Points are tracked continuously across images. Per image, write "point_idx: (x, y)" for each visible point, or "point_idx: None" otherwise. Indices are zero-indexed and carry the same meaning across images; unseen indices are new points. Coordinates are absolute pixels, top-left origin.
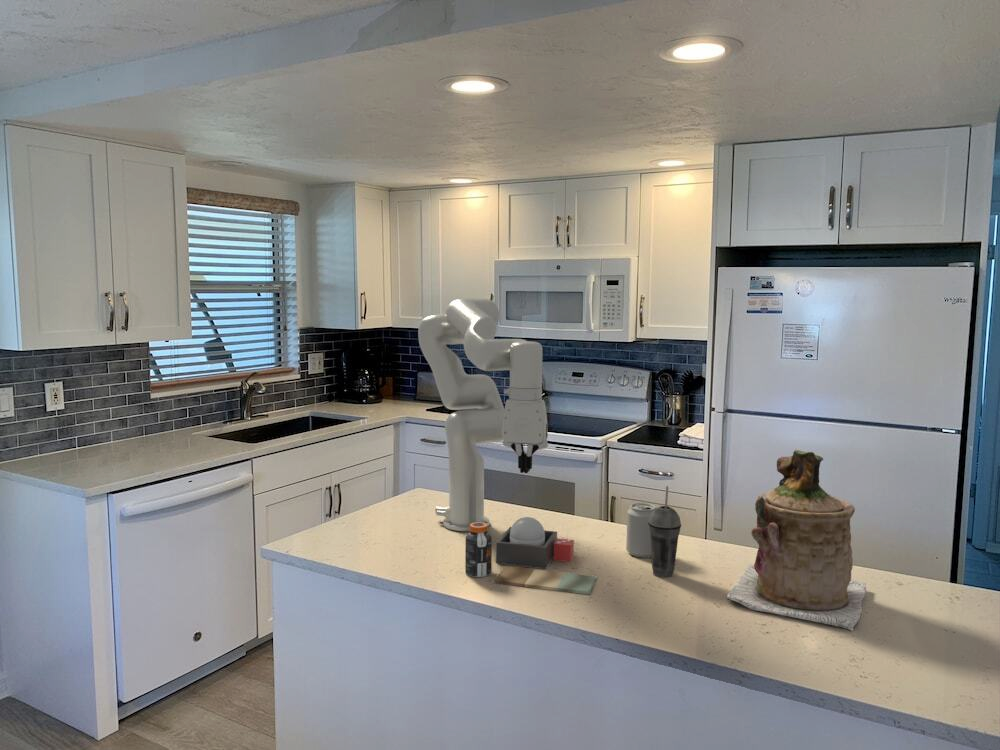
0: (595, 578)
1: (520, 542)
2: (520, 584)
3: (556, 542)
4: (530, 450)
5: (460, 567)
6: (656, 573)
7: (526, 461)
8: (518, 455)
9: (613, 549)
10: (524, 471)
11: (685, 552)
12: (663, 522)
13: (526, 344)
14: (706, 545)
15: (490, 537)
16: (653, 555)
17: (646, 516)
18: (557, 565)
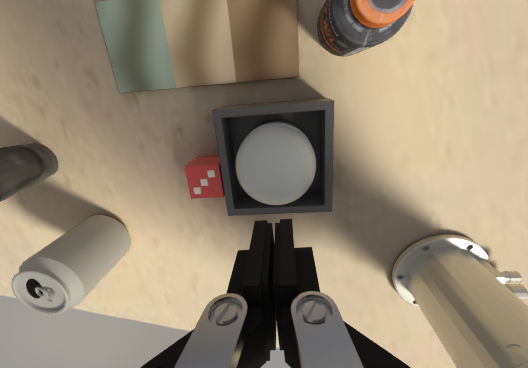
0: (117, 84)
1: (278, 123)
2: None
3: (216, 173)
4: (201, 341)
5: (393, 41)
6: (41, 147)
7: (249, 260)
8: (315, 293)
9: (155, 236)
10: (268, 224)
11: None
12: None
13: None
14: None
15: (333, 1)
16: (17, 156)
17: (28, 260)
18: (210, 132)
